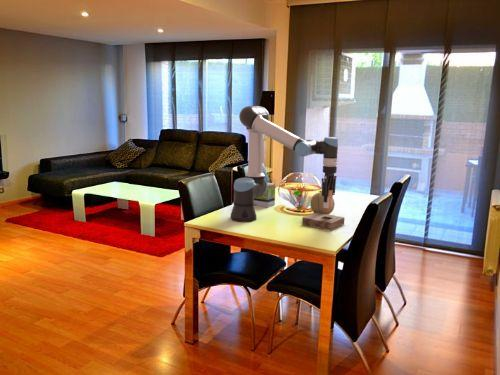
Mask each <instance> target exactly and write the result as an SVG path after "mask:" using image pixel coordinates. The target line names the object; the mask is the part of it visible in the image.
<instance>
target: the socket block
mask: <svg viewBox="0 0 500 375" xmlns="http://www.w3.org/2000/svg"><path fill="white" fill-rule="evenodd" d="M345 220H346V219H345V217H344V216H340V215H339V216H338V215H334V214H333V215H332V214H324V213H318V212H316V213H314V212H313V213H310V214H308V215H306V216H303V217H302V221H301V224H302V225H304V226H309V227H313V228H317V229H318V228H319V229H322V230H323V229H324V230H326V231H327V230H328V231H333V230H336V229H337V228H339V227H341V226H344V225H345Z"/></svg>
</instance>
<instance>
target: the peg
mask: <svg viewBox="0 0 500 375" xmlns="http://www.w3.org/2000/svg"><path fill="white" fill-rule="evenodd" d="M328 197H329V205H328V208H324V212H331V208H332V190H329V193H328ZM331 213H332V212H331Z"/></svg>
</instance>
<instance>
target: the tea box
mask: <svg viewBox="0 0 500 375" xmlns="http://www.w3.org/2000/svg"><path fill="white" fill-rule="evenodd" d="M275 204H276V183H271V182H267V190H266V192H265V193H264V194H262V195H261V196H259V197H256V198H254V206H257V207H264V208H270V207H273V206H275Z"/></svg>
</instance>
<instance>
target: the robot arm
mask: <svg viewBox="0 0 500 375" xmlns="http://www.w3.org/2000/svg"><path fill="white" fill-rule="evenodd" d="M238 117H239V121H240V123H241V124H242V125H243V126H244V127H246V129H245V130H246V131H247V132H248V152H247V153H248V154H247V155H248V156H247V157H248V159H247V160H248V161H247V162H248V163H247V164H248V166H247V172H246V173H245V177H240V178H237V179H235V180H234V182H233V207H232V209H231V212H230V221H231V220H232V221H234V222H239V223H249V222H255V221H256V220H257V213H256V209H255V205H254V198H256V197H259V196H261V195H262V194H264V193H265V192H266V190H267V183H268V182H267V180H266V177H265V176H266V175H265V174H264V173H263V165H264V164H263V163H264V162H263V161H264V159H263V158H264V155H263V154H264V136H267V137H268V138H269V139H270V138H271V139H272V140H274V141H276V142H277V143H280V144H281V145H283V146H284V147H287V148H288V149H290V150H292V151H294V152H295V154H296V155H297V156H299V157H308V156H311V155H322V156H323V157H322V165H323V166H322V173H324V176H323V177H322V178H321V191H322V196H324V205H323V208H328V205H329V197H328V193H329V190H332V202H333V199H334V196H335V195H336V194H335V193H336V187H337V186H336V184H337V183H336V182H337V175H335V174H337V172H338V171H337V169H338V167H337V163H338V151H339V150H338V149H339V148H338V147H339V141H338V140H339V139H338V138H337V137H335V136H325V137H324V138H323V140H316V139H303V138H301V137H299V136H297V135H296V134H293V133H292V132H290V131H288V130H286V129H284V128H282V127H281V126H278V125H277V124H275V123H273V122H271V121H270V113H269V111H268V110H267V109H266V108H265V107H263V106H260V105H247V106H244V107H243V108H242V109H241V110H240V113H239V116H238Z"/></svg>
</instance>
